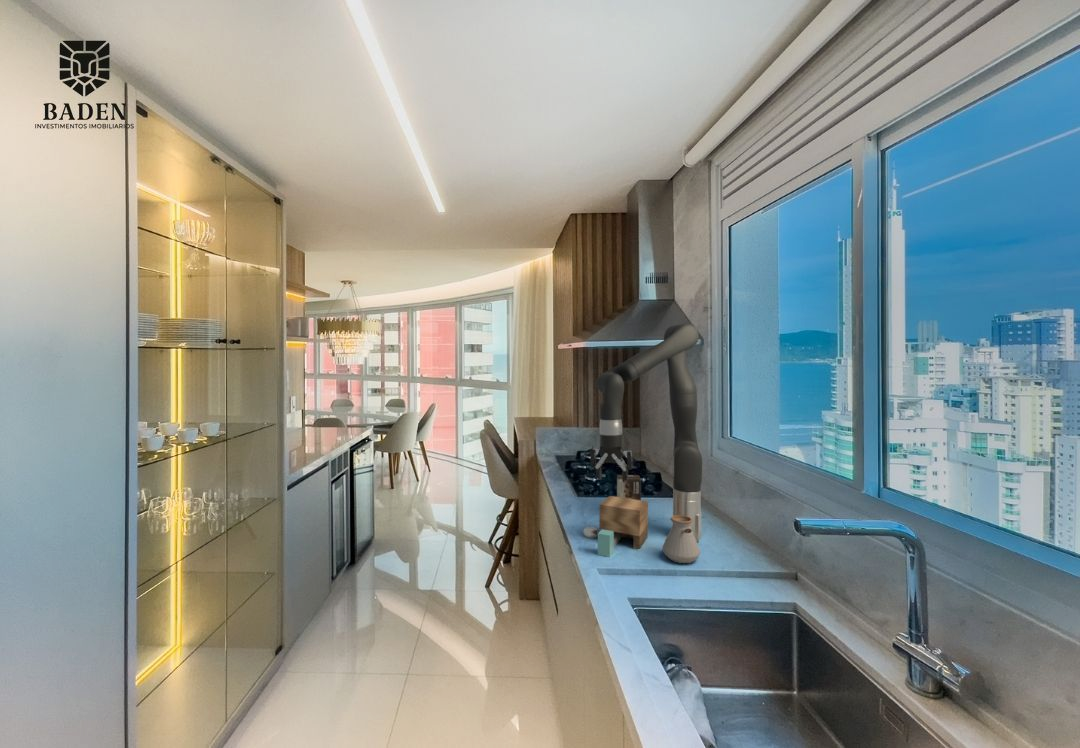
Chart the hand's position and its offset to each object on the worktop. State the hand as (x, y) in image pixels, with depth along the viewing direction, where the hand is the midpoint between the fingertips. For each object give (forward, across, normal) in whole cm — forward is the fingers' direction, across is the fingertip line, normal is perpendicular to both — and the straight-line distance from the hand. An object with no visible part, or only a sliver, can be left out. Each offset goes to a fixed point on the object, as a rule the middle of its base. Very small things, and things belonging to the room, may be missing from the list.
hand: (611, 480), depth 153 cm
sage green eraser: (+22, 0, +1) cm, 22 cm away
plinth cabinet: (+22, -2, -6) cm, 23 cm away
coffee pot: (+23, -24, +5) cm, 33 cm away
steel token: (+22, +10, -5) cm, 25 cm away
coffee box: (+23, +2, -30) cm, 37 cm away
